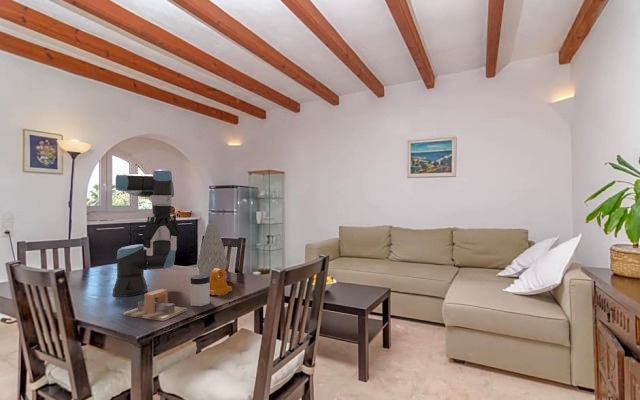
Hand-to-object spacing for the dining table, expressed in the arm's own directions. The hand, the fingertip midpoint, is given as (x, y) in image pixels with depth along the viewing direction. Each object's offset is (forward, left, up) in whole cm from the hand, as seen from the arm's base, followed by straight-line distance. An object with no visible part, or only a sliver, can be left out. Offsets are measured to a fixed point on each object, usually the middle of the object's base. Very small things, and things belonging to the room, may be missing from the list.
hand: (162, 252), depth 147 cm
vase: (-4, +42, -23) cm, 48 cm away
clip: (+7, -10, -22) cm, 25 cm away
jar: (+16, +6, -23) cm, 28 cm away
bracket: (+14, +23, -23) cm, 35 cm away
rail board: (+7, -10, -23) cm, 26 cm away
